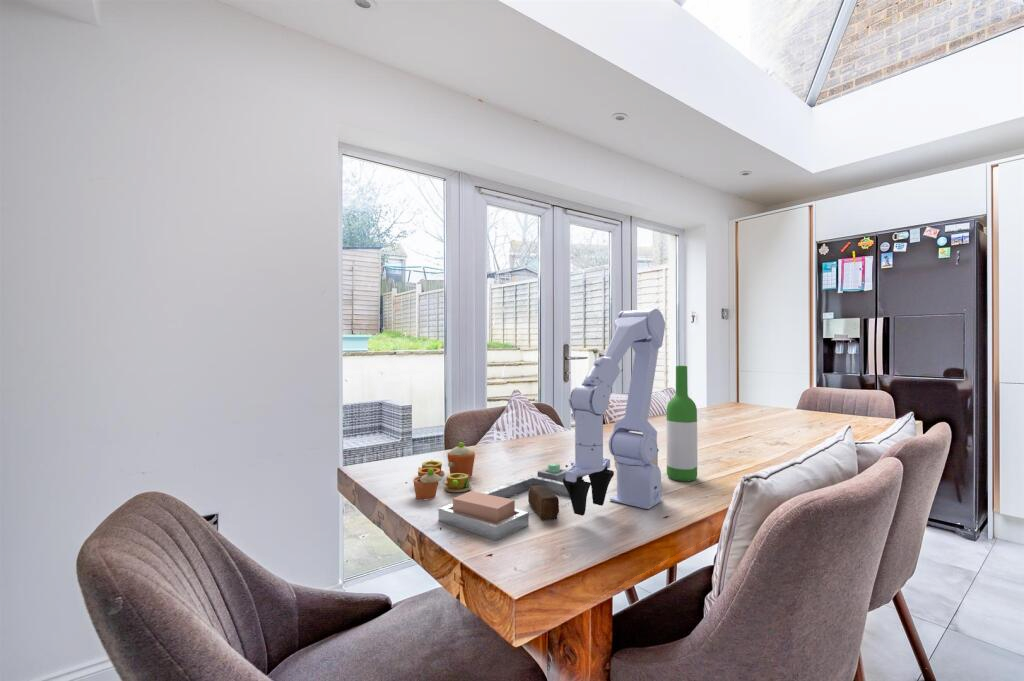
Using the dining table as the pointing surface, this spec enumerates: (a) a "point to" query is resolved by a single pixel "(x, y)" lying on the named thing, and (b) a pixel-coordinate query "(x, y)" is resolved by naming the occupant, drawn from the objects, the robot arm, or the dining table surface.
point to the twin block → (484, 506)
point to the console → (552, 475)
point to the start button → (554, 468)
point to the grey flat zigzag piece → (504, 526)
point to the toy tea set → (456, 480)
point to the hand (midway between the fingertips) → (589, 509)
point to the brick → (543, 502)
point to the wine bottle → (681, 432)
